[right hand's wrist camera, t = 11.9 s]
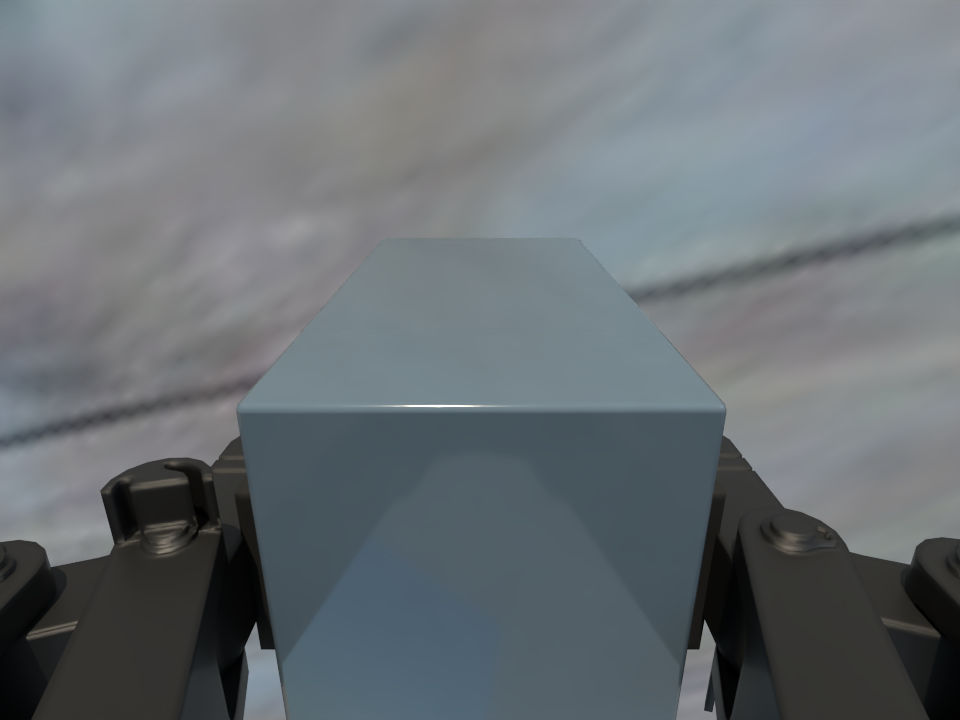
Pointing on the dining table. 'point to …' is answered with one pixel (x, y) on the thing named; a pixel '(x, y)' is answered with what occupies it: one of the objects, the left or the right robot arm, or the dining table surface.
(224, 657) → the right robot arm
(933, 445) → the dining table surface
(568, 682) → the brick
